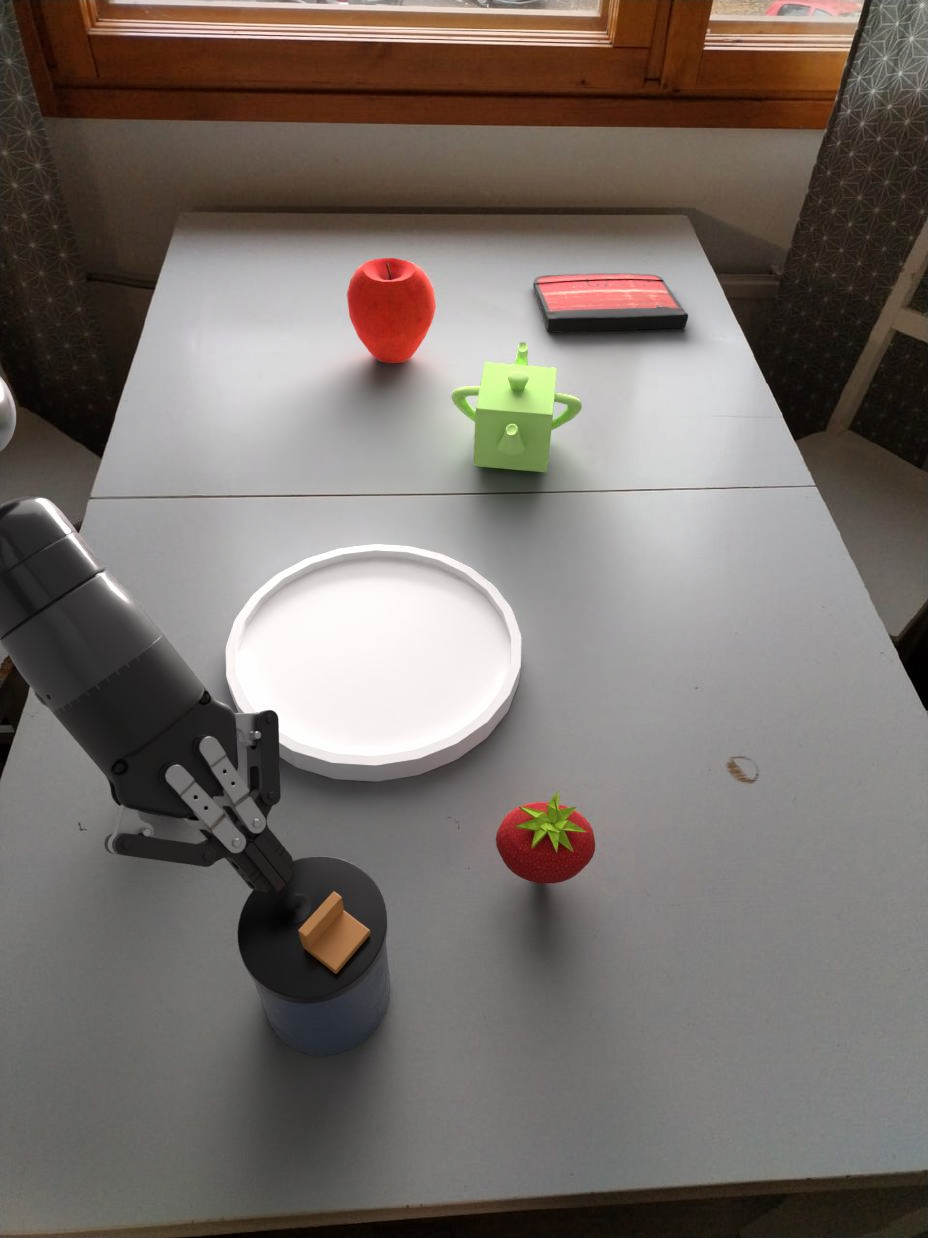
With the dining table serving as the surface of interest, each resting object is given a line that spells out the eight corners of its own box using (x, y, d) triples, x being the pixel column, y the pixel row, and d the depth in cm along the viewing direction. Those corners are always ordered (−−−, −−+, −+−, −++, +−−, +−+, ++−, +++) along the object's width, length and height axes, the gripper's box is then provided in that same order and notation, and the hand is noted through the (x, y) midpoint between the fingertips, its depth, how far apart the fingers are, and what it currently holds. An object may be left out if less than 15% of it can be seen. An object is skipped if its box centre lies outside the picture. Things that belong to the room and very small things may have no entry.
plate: (168, 667, 85) (162, 650, 83) (375, 526, 100) (374, 509, 98) (377, 842, 73) (375, 826, 71) (578, 651, 88) (581, 634, 86)
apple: (431, 332, 130) (430, 241, 120) (440, 375, 122) (440, 281, 112) (349, 336, 129) (342, 244, 119) (353, 380, 121) (346, 285, 111)
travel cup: (234, 1002, 64) (205, 936, 56) (324, 904, 69) (309, 830, 61) (331, 1089, 60) (315, 1030, 52) (419, 977, 65) (416, 909, 57)
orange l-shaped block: (302, 947, 55) (297, 930, 54) (336, 908, 57) (333, 890, 55) (336, 975, 54) (332, 958, 52) (370, 934, 56) (368, 917, 54)
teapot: (518, 406, 117) (524, 331, 110) (594, 452, 111) (606, 376, 103) (430, 450, 110) (430, 374, 102) (506, 503, 103) (512, 425, 96)
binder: (689, 313, 131) (548, 318, 129) (686, 328, 132) (546, 333, 131) (660, 269, 142) (530, 272, 140) (658, 283, 144) (529, 287, 142)
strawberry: (492, 840, 73) (499, 771, 66) (584, 844, 73) (601, 775, 66) (491, 908, 69) (498, 842, 62) (589, 912, 69) (606, 847, 62)
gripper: (17, 736, 45) (224, 977, 49) (213, 592, 53) (380, 812, 57) (-7, 744, 51) (180, 959, 55) (172, 614, 59) (326, 812, 63)
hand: (281, 884), depth 56 cm, fingers closed
